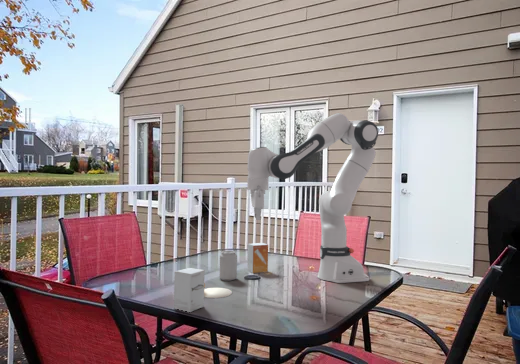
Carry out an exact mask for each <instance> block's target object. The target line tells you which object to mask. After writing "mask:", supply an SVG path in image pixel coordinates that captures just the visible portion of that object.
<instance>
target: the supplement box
mask: <svg viewBox="0 0 520 364" xmlns="http://www.w3.org/2000/svg"><path fill="white" fill-rule="evenodd" d="M205 273H206V272H205V270H204V269H201V268H193V267H187V268H184V269H179V270H175V271H174V278H173V279H174V280H173V281H174V282H173V283H174V285H173V286H174V287H173V293H174V294H173V309H174V308H175V310H177V309H179V311H181V310H183V311H182V312H185V311H187V312H186V313H189V312H190V313H191V312H193V311H196V310H198V309H200V308H201V309H202V308H204V307H205V297H204V289H205V288H204V283H205Z"/></svg>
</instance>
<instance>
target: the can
mask: <svg viewBox="0 0 520 364" xmlns="http://www.w3.org/2000/svg"><path fill="white" fill-rule="evenodd" d="M237 269H238V255H237V254H236V251H234V250H223V251H221V252H220V254H219V278H220V279H221V281H224V282H225V281H226V282H227V281H229V282H230V281H234V280H235V279H236V278H237V277H238V275H237V274H238V270H237Z"/></svg>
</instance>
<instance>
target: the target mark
mask: <svg viewBox="0 0 520 364" xmlns="http://www.w3.org/2000/svg"><path fill="white" fill-rule="evenodd" d="M232 294H233V292H232V290H231V289H229V288H225V287H208V288H204V298H206V299H207V298H208V299H220V298H226V297H228V296H231V295H232Z"/></svg>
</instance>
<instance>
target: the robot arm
mask: <svg viewBox="0 0 520 364" xmlns="http://www.w3.org/2000/svg"><path fill="white" fill-rule="evenodd" d="M306 135H307V136H306V139H305V140H304V141H303V142H302V143H300V144H299V145H298V146H297V147H295V148H294V149H293V150H291V151H288V152H284V153H279V154H277V153H275V152H274V151H272V150H270V149H269V148H267V147H266V146H260V147H255V148H252V149H250V151H249V152H248V156H247V171H248V174H247V184H246V187H247V189H246V190H248V191H250V193H249V194H250V200H251V201H250V202H251V206H252V207H253V212H254V218H255V219H256V220H257V221H261V217H262V210H264V208H265V194H266V191H268V190H269V178H270V177H272V178H275V179H281V180H286V179H289V178H291V177H292V176H294V174H295V173H296V172H297V170H298V168H299V166H300V165H301V164H302V163H303V162H305V161H306V160H308V158H310V157H311V156H313V155H314V154H316V153H318V152H320V151H323V150H326V149H327V148H329V147H331V146H332V145H334V144H335V143H337V141H339V140H340V141H341V142H342V143H343V144H345V145H351V149H350V153H349V155H348V156H347V158H346V159H345V161H344V163H343V164H342V166H341V167H340V168H339V171H338V172H337V174H336V177H335V180H334V183H333V185H332V187H331V189H329V190H327V191H324V192H323V193H322V194H320V197H319V199H318V205H319V217H320V219H319V220H320V224H321V225H320V227H321V228H320V229H321V235H320V236H321V245H320V248H319V257H320V261H319V264H320V265H319V269H318V273H317V278H318V279H320V280H324V281H326V282H327V281H328V282H333V283H336V284H337V283H338V284H345V283H346V284H347V283H359V282H369V281H370V277H369V276H368V275H367V274H366V273H365V270H364V266H363V264H362V263H361V262H360V261H358V260H357V259H356V258H355V257H354V256H353V255H351V254H354V248H351V247H348V246H347V239H348V238H347V237H348V235H347V230H348V229H347V226H346V221H345V215H347V214H348V213H349V212H350V211H351V209H352V206H353V202H354V200H355V198H356V195H357V192H358V189H359V187H360V186H361V184H362V182H363V181H364V179H365V177H366V176H367V174H368V173H369V170H370V169H371V168H372V165H373V163H374V161H375V158H376V154H377V153H376V149H375V148H374V146H376V143H377V140H378V138H379V137H378V136H379V129H378V126H377V124H375V123H374V122H372V121H371V120H361V119H358V120H357V119H356V120H349V119H348V117H347V116H346V115H345V114H344V113H341V112H340V113H339V112H338V113H334V114H332V115H330V116H328V117H326V118H324V119H323V120H320V121H319V122H318V123H317V124H315V125H313V127H311V129H309V131H308V132H307V134H306Z"/></svg>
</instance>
